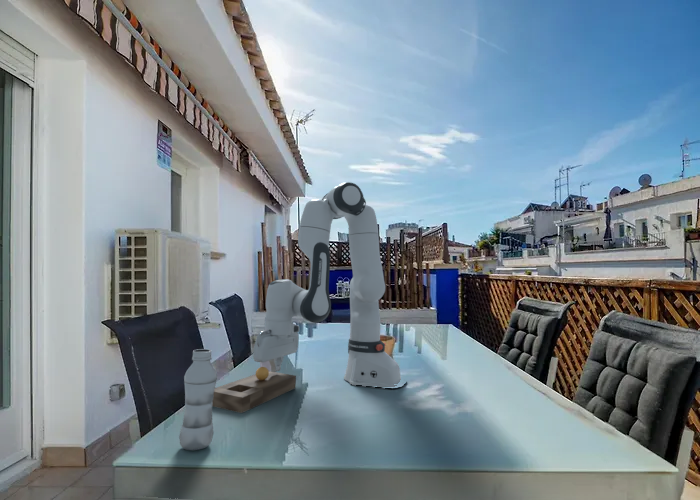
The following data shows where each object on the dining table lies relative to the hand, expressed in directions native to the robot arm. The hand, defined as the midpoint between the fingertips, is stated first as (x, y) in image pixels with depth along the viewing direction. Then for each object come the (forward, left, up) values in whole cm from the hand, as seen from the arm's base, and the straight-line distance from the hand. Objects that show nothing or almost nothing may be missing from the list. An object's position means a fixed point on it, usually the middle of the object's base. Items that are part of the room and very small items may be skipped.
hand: (275, 371), depth 123 cm
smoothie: (+15, -15, -5) cm, 22 cm away
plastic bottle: (-11, +43, -5) cm, 45 cm away
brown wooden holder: (0, +10, -5) cm, 12 cm away
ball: (0, +7, +1) cm, 7 cm away
